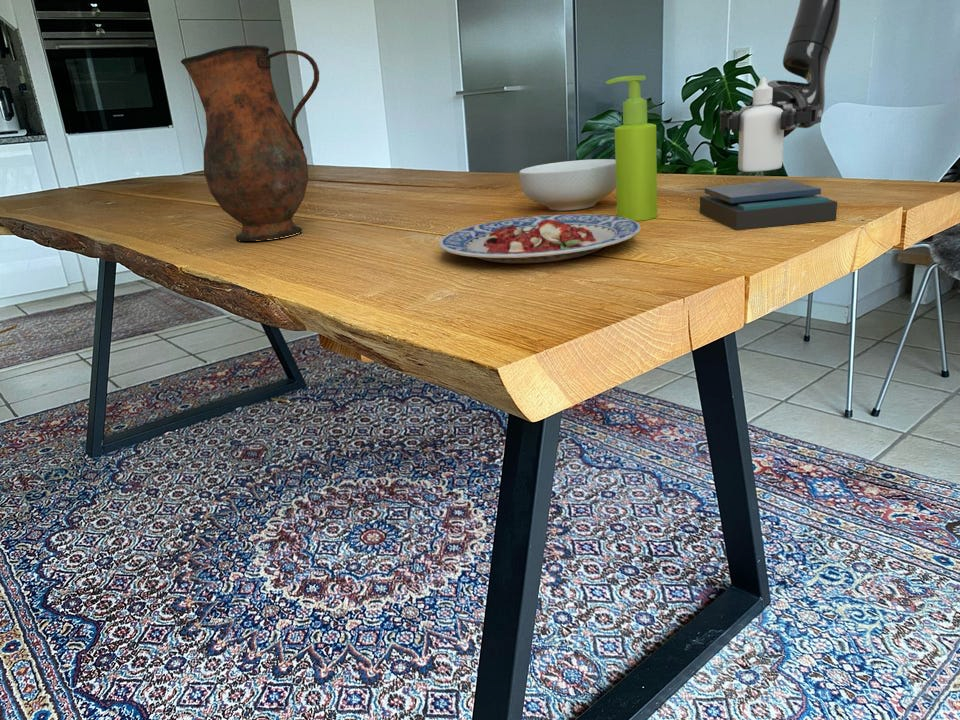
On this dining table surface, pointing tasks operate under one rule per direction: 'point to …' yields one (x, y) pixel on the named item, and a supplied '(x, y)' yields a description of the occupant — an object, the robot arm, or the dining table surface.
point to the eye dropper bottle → (761, 133)
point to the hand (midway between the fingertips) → (758, 122)
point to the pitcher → (251, 140)
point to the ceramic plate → (539, 237)
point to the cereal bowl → (569, 183)
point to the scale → (769, 211)
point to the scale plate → (762, 191)
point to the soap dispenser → (635, 156)
